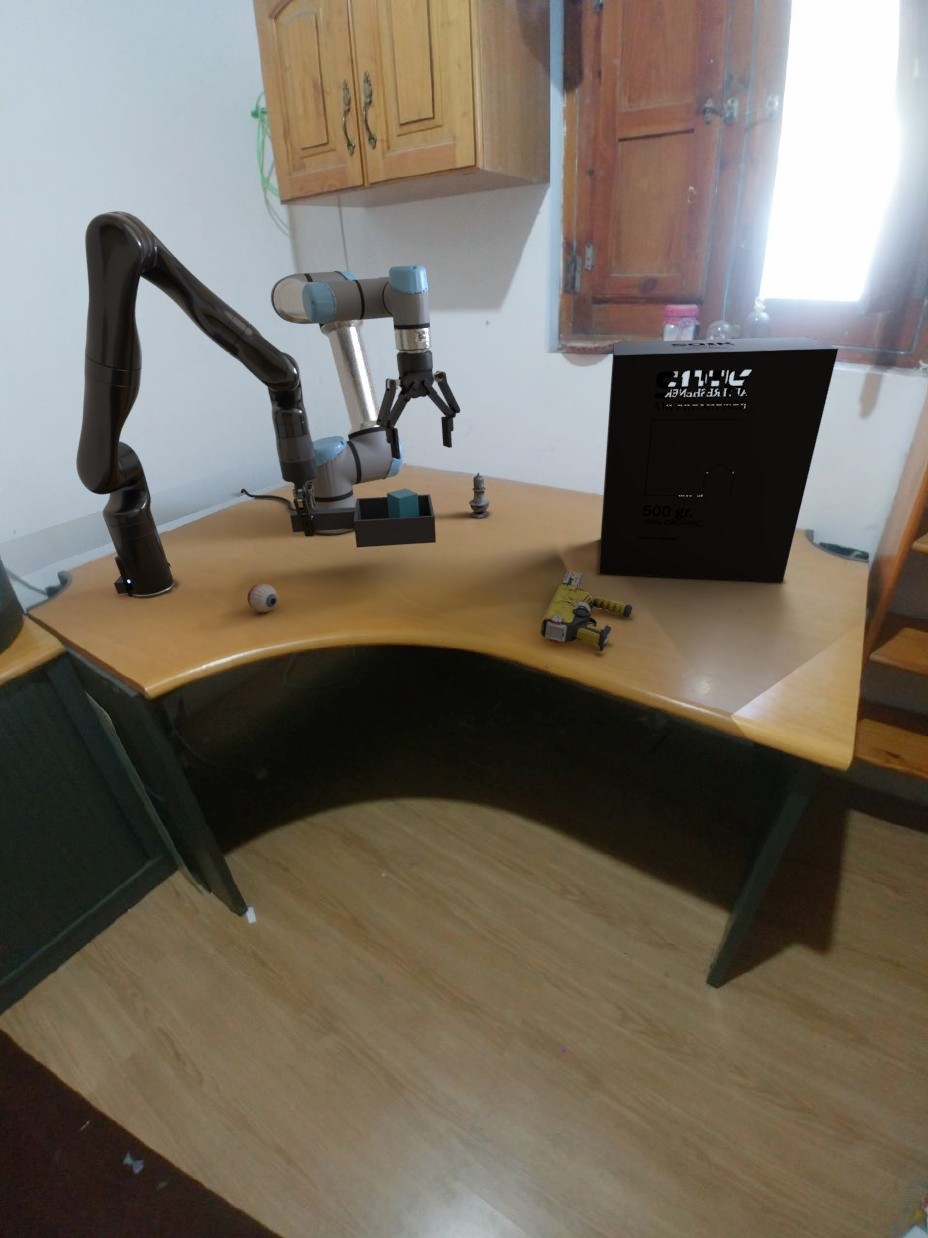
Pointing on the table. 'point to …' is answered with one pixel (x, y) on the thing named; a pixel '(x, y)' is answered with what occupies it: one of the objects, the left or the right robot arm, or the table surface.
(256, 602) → the eyeball
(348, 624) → the table surface
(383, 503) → the tray
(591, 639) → the toy gun
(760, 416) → the cardboard box
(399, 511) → the block
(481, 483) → the stone chess piece
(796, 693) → the table surface
